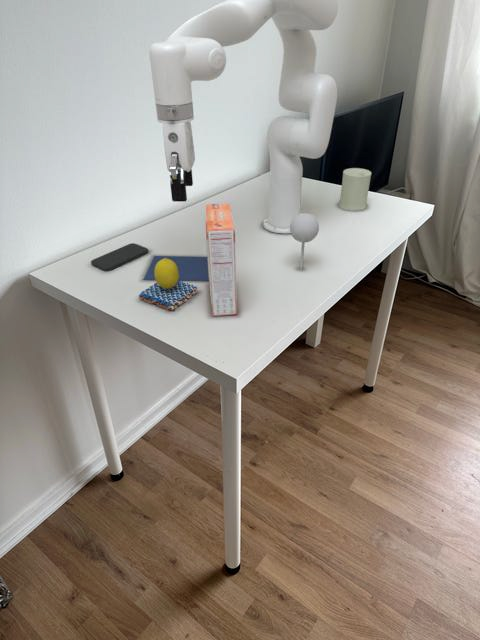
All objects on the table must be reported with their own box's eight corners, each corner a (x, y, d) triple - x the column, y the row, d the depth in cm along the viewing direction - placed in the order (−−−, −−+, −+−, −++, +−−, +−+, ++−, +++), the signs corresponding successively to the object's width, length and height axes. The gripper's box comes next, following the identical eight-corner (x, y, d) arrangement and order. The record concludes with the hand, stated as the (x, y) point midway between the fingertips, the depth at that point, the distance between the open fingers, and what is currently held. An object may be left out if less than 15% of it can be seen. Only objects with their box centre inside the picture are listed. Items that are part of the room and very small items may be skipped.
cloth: (219, 257, 123) (219, 257, 123) (214, 281, 113) (214, 280, 113) (154, 256, 124) (154, 255, 124) (143, 279, 114) (143, 279, 114)
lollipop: (317, 264, 120) (322, 210, 111) (311, 277, 114) (317, 221, 105) (291, 261, 121) (294, 207, 113) (284, 273, 116) (287, 217, 107)
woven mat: (200, 292, 108) (199, 285, 107) (172, 313, 101) (171, 305, 100) (166, 281, 113) (165, 274, 112) (137, 300, 106) (136, 293, 105)
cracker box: (208, 285, 111) (204, 203, 99) (233, 284, 112) (231, 202, 100) (210, 317, 100) (205, 229, 88) (237, 315, 100) (236, 227, 88)
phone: (150, 249, 126) (106, 269, 116) (150, 252, 126) (107, 272, 117) (132, 242, 130) (88, 261, 120) (132, 245, 130) (89, 264, 120)
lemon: (182, 283, 108) (179, 253, 103) (177, 295, 103) (174, 264, 99) (159, 282, 108) (155, 252, 104) (153, 294, 104) (149, 263, 99)
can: (351, 213, 149) (356, 176, 142) (333, 204, 156) (337, 169, 149) (372, 207, 153) (378, 172, 146) (353, 199, 160) (358, 165, 153)
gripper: (187, 121, 86) (194, 207, 96) (198, 103, 100) (203, 180, 110) (148, 122, 86) (159, 207, 96) (164, 104, 100) (173, 180, 110)
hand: (183, 193), depth 103 cm, fingers open, 9 cm apart
